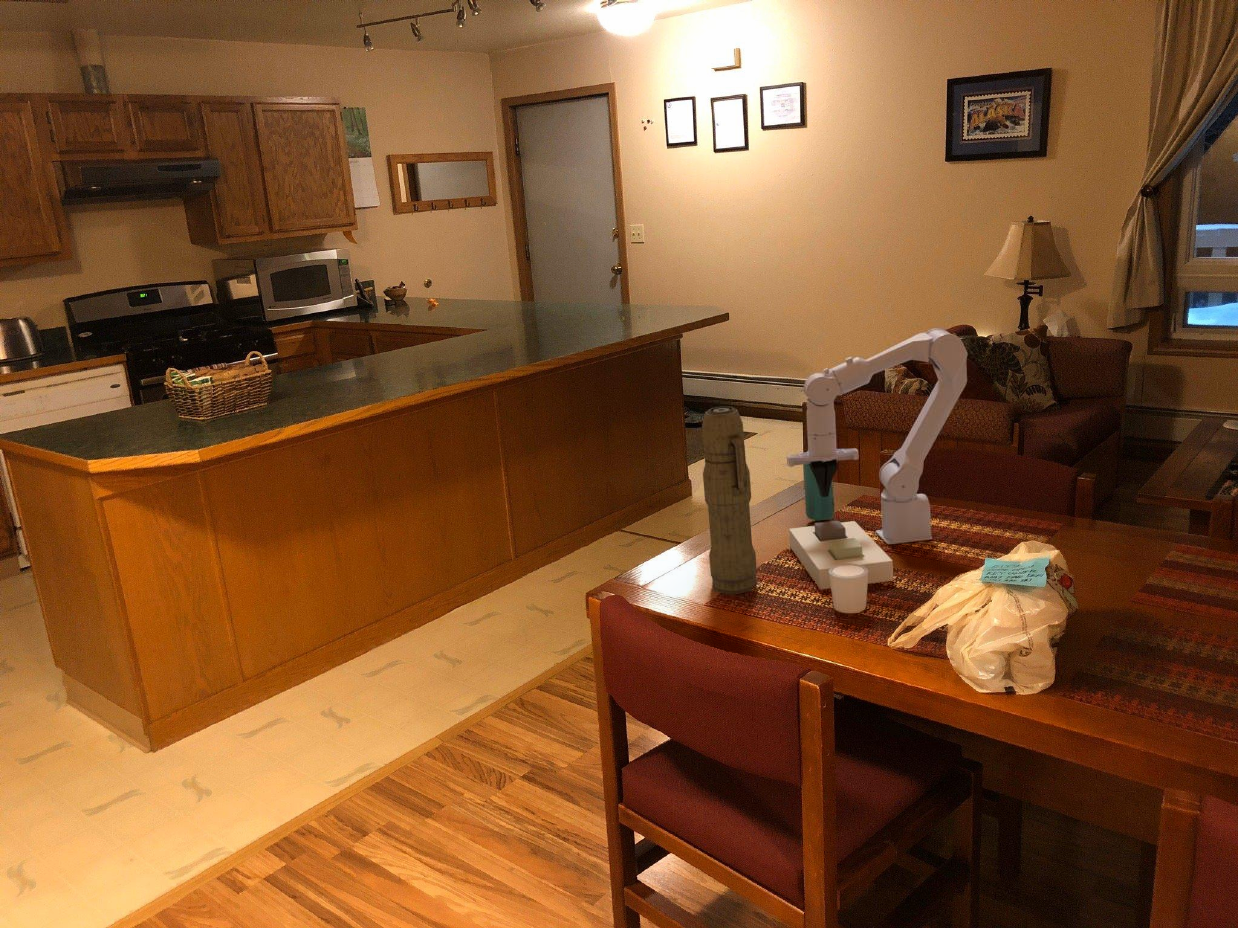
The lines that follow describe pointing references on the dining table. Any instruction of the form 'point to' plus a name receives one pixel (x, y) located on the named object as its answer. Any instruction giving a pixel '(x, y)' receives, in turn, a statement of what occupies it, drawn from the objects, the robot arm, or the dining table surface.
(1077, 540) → the dining table surface
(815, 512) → the beverage bottle
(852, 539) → the sage key
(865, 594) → the white cup
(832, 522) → the charcoal key
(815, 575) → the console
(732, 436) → the thermos
